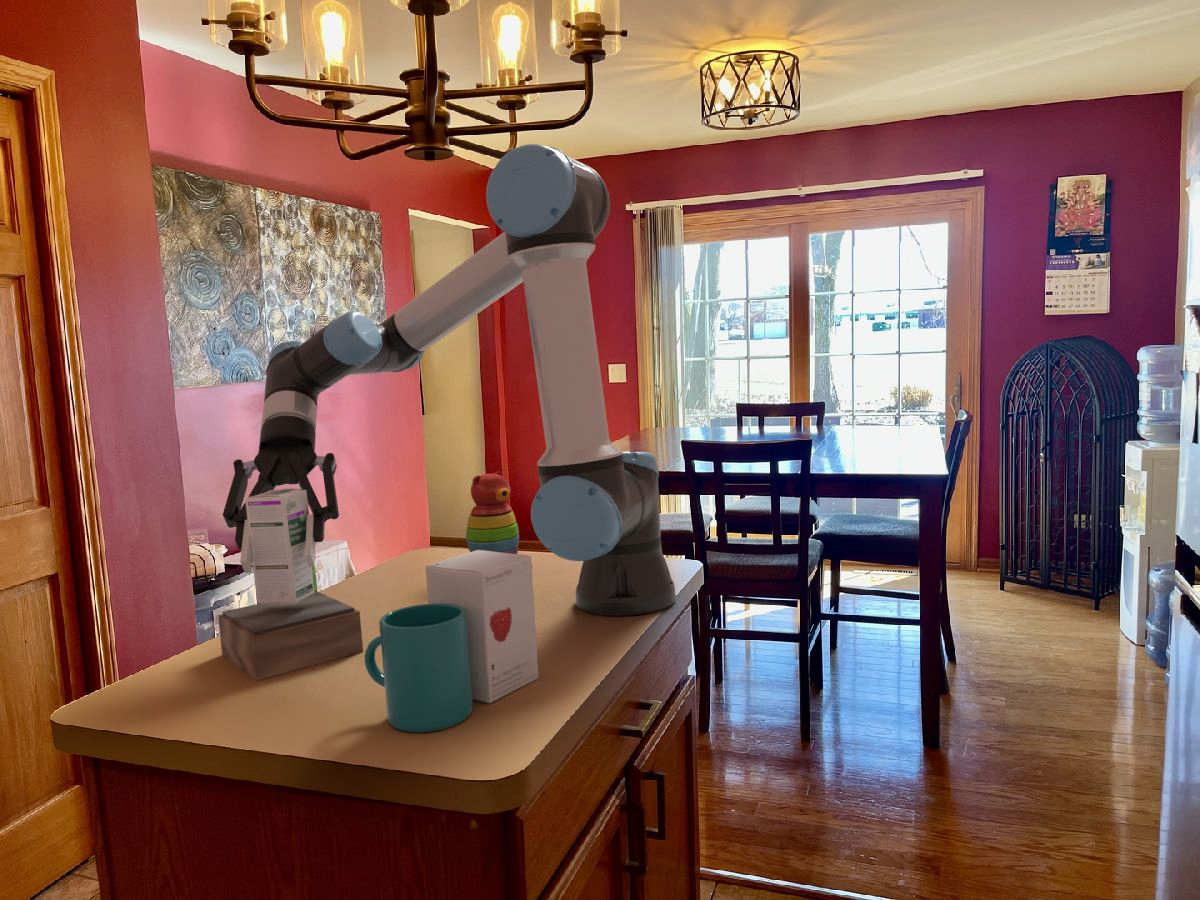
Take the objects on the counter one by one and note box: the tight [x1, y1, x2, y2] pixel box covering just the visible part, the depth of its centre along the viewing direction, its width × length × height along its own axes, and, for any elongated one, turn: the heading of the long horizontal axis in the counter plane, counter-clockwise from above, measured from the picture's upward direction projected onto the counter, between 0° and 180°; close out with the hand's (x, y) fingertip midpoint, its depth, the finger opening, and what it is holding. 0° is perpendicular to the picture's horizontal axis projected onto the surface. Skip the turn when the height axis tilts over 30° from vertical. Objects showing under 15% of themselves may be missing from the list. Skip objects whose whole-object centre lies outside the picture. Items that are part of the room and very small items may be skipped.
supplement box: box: [425, 550, 539, 704], centre depth 101 cm, size 9×9×15 cm
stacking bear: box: [465, 471, 520, 554], centre depth 156 cm, size 11×10×18 cm
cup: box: [364, 603, 474, 733], centre depth 94 cm, size 9×12×11 cm
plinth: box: [217, 591, 364, 681], centre depth 117 cm, size 14×14×6 cm
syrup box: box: [244, 488, 318, 605], centre depth 116 cm, size 6×6×14 cm
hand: (278, 564), depth 113 cm, fingers closed on syrup box, 7 cm apart
